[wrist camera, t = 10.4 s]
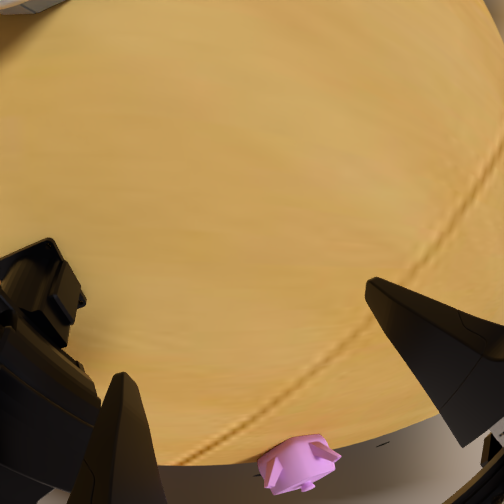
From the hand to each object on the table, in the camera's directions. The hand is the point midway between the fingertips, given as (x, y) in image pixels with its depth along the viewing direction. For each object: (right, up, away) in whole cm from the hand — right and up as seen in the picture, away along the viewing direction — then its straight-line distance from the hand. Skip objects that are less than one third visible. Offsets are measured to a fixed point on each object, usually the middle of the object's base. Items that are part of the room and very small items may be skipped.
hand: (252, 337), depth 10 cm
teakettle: (+8, -42, +48) cm, 64 cm away
